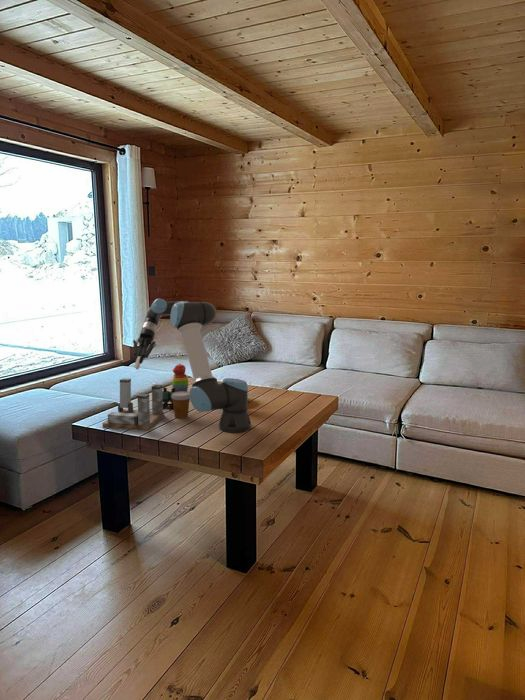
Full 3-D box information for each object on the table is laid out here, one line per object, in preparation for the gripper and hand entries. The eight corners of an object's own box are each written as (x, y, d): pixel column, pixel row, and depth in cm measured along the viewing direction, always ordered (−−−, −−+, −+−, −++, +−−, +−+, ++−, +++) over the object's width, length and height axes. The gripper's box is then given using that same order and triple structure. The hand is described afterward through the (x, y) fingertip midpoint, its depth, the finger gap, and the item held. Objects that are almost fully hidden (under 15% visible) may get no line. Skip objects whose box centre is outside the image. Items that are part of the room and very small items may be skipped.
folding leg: (131, 406, 245) (130, 378, 244) (127, 408, 241) (127, 380, 240) (123, 405, 246) (123, 378, 244) (119, 407, 242) (119, 379, 240)
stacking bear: (171, 391, 288) (170, 362, 285) (188, 391, 290) (187, 362, 286) (171, 396, 277) (170, 366, 274) (188, 396, 279) (188, 366, 276)
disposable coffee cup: (194, 416, 243) (194, 393, 241) (178, 421, 236) (178, 397, 234) (183, 412, 250) (183, 390, 247) (167, 416, 243) (167, 393, 241)
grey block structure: (164, 415, 244) (163, 384, 241) (147, 430, 223) (146, 396, 220) (122, 412, 247) (120, 382, 244) (101, 427, 226) (99, 393, 223)
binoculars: (156, 392, 250) (162, 385, 260) (157, 411, 253) (163, 404, 263) (173, 393, 249) (178, 386, 259) (174, 412, 252) (179, 404, 262)
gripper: (161, 336, 269) (150, 372, 256) (139, 335, 271) (127, 370, 258) (157, 328, 263) (146, 364, 250) (134, 327, 265) (122, 363, 252)
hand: (136, 367), depth 254 cm, fingers closed
